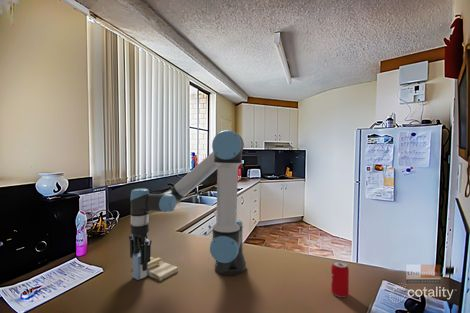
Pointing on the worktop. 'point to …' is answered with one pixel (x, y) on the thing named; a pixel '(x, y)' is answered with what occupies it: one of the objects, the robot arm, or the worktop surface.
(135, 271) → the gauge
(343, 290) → the beverage can
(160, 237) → the worktop surface
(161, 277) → the board
